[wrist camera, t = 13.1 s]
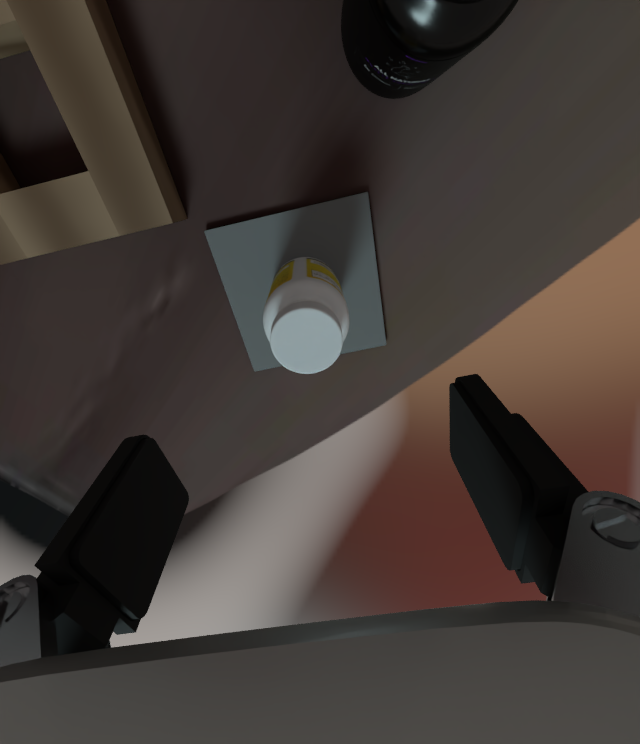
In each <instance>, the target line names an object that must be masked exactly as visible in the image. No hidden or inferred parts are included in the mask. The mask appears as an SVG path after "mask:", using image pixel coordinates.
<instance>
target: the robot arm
mask: <svg viewBox="0 0 640 744" xmlns="http://www.w3.org/2000/svg"><path fill="white" fill-rule="evenodd" d="M450 453H451V457H452V459H453V462H454V464H455V466H456V468H457V470H458V472H459V474H460V476H461V478H462V480H463V482H464V484H465V486H466V488H467V490H468V492H469V494H470V496H471V498H472V500H473V502H474V504H475V506H476V508H477V510H478V512H479V515H480V517H481V518H482V521H483V523H484V525H485V527H486V529H487V531H488V533H489V535H490V537H491V539H492V541H493V543H494V545H495V547H496V549H497V551H498V553H499V555H500V557H501V559H502V561H503V563H504V565H505V567H506V568H507V569H508V570H515V572H516V574H517V576H518V578H519V580H520V581H521V583H530V582H535V583H536V585H537V586H538V588H539V590H540V592H541V593H543V594H544V595H546V596H547V600H546V601H516V602H495V603H486V604H475V605H465V606H454V607H446V608H445V607H444V608H434V609H424V610H416V611H407V612H399V613H390V614H382V615H374V616H364V617H356V618H347V619H339V620H330V621H322V622H313V623H306V624H297V625H289V626H280V627H273V628H264V629H256V630H248V631H240V632H232V633H223V634H215V635H207V636H199V637H191V638H184V639H176V640H168V641H161V642H152V643H145V644H138V645H129V646H122V647H114V648H111V646H110V641H109V639H110V637H111V635H112V633H113V632H115V633H116V634H117V635H118V634H126V633H134V632H136V630H137V627H138V625H139V622H140V620H141V618H142V617H144V616H145V614H146V613H147V611H148V608H149V606H150V603H151V600H152V597H153V595H154V592H155V590H156V587H157V585H158V582H159V579H160V577H161V574H162V571H163V568H164V566H165V563H166V560H167V558H168V555H169V552H170V550H171V547H172V545H173V542H174V539H175V537H176V534H177V531H178V529H179V526H180V523H181V521H182V518H183V516H184V513H185V510H186V508H187V505H188V501H189V496H188V492H187V491H186V489H185V487H184V486H183V484H182V483H181V481H180V479H179V478H178V476H177V475H176V473H175V471H174V470H173V468H172V467H171V465H170V463H169V462H168V460H167V459H166V457H165V456H164V454H163V452H162V451H161V449H160V448H159V446H158V444H157V443H156V441H155V440H154V439H152V438H150V437H149V436H147V435H139V436H134V437H128V438H126V439H124V440H123V442H122V443H121V444H120V446H119V447H118V449H117V450H116V451H115V453H114V454H113V456H112V457H111V459H110V460H109V461H108V463H107V464H106V466H105V467H104V468H103V470H102V471H101V473H100V474H99V475H98V477H97V478H96V480H95V481H94V482H93V484H92V485H91V487H90V488H89V489H88V491H87V492H86V494H85V495H84V497H83V498H82V499H81V501H80V502H79V504H78V505H77V506H76V508H75V509H74V511H73V512H72V513H71V515H70V516H69V518H68V519H67V521H66V522H65V523H64V525H63V526H62V528H61V529H60V530H59V532H58V533H57V535H56V536H55V537H54V539H53V540H52V542H51V543H50V545H49V546H48V547H47V549H46V550H45V552H44V553H43V554H42V556H41V557H40V559H39V560H38V561H37V563H36V564H35V566H36V567H37V568H38V569H39V570H40V571H41V573H40V575H39V576H38V578H36V577H34V576H32V575H22V576H19V577H16V578H13V579H11V580H10V581H8V582H6V583H4V584H3V585H1V586H0V744H640V502H638V501H636V500H634V499H632V498H629V497H627V496H624V495H622V494H617V493H613V492H608V491H592V492H588V491H587V490H586V489H585V487H583V485H582V484H581V483H580V482H579V481H578V479H577V478H576V477H575V476H574V475H573V474H572V473H571V472H570V471H569V469H568V468H567V467H566V466H565V465H564V464H563V462H562V461H561V460H560V459H559V458H558V457H557V455H556V454H555V453H554V452H553V451H552V450H551V448H550V447H549V446H548V445H547V444H546V443H545V442H544V440H543V439H542V438H541V437H540V436H539V435H538V434H537V432H535V430H534V429H533V428H532V427H531V426H530V424H529V423H528V422H527V421H526V420H525V419H524V418H523V417H522V416H521V415H520V414H517V413H514V414H511V413H510V412H509V411H508V410H507V408H506V407H505V406H504V405H503V404H502V402H501V401H500V400H499V399H498V398H497V396H496V395H495V394H494V393H493V392H492V391H491V389H490V388H489V387H488V386H487V384H486V383H485V382H484V381H483V380H482V379H481V377H480V376H479V375H478V374H473V375H468V376H463V377H457V378H456V380H455V383H451V384H450Z"/></svg>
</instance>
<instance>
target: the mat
mask: <svg viewBox="0 0 640 744" xmlns="http://www.w3.org/2000/svg"><path fill="white" fill-rule="evenodd" d="M204 232H205V235H206V238H207V240H208V243H209V246H210V249H211V252H212V254H213V257H214V260H215V263H216V266H217V268H218V271H219V274H220V277H221V280H222V282H223V285H224V288H225V291H226V293H227V296H228V299H229V302H230V305H231V307H232V310H233V313H234V316H235V319H236V321H237V324H238V327H239V330H240V333H241V335H242V338H243V341H244V344H245V347H246V349H247V352H248V355H249V358H250V360H251V363H252V366H253V369H254V372H255V371H260V370H265V369H269V368H274V367H279V366H283V365H281V364H280V363H279V362H278V361H277V359H276V358H275V356H274V354H273V352H272V350H271V345H270V342H269V340H268V338H267V336H266V333H265V330H264V325H263V313H264V308H265V304H266V301H267V298H268V295H269V292H270V289H271V285H272V282H273V279H274V277H275V275H276V273H277V272H278V270H279V269H280V268H281V267H282V266H283V265H284V264H286V263H287V262H289V261H290V260H293V259H296V258H300V257H311V258H315V259H318V260H320V261H322V262H324V263H325V264H327V265H328V266H329V267H330V268H331V269H332V270H333V272H334V273H335V274H336V276H337V278H338V281H339V284H340V286H341V289H342V292H343V295H344V298H345V301H346V304H347V307H348V312H349V329H348V333H347V336H346V338H345V340H344V342H343V345H342V350H341V352H340V354H343V353H348V352H353V351H358V350H363V349H368V348H373V347H378V346H383V345H386V338H385V329H384V321H383V313H382V304H381V296H380V288H379V280H378V271H377V263H376V255H375V247H374V238H373V230H372V222H371V214H370V205H369V197H368V192H364V193H360V194H356V195H352V196H348V197H343V198H339V199H335V200H331V201H327V202H322V203H318V204H314V205H310V206H306V207H302V208H297V209H293V210H289V211H285V212H281V213H276V214H272V215H268V216H264V217H260V218H255V219H251V220H247V221H243V222H239V223H234V224H230V225H226V226H222V227H218V228H213V229H209V230H206V231H204Z"/></svg>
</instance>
